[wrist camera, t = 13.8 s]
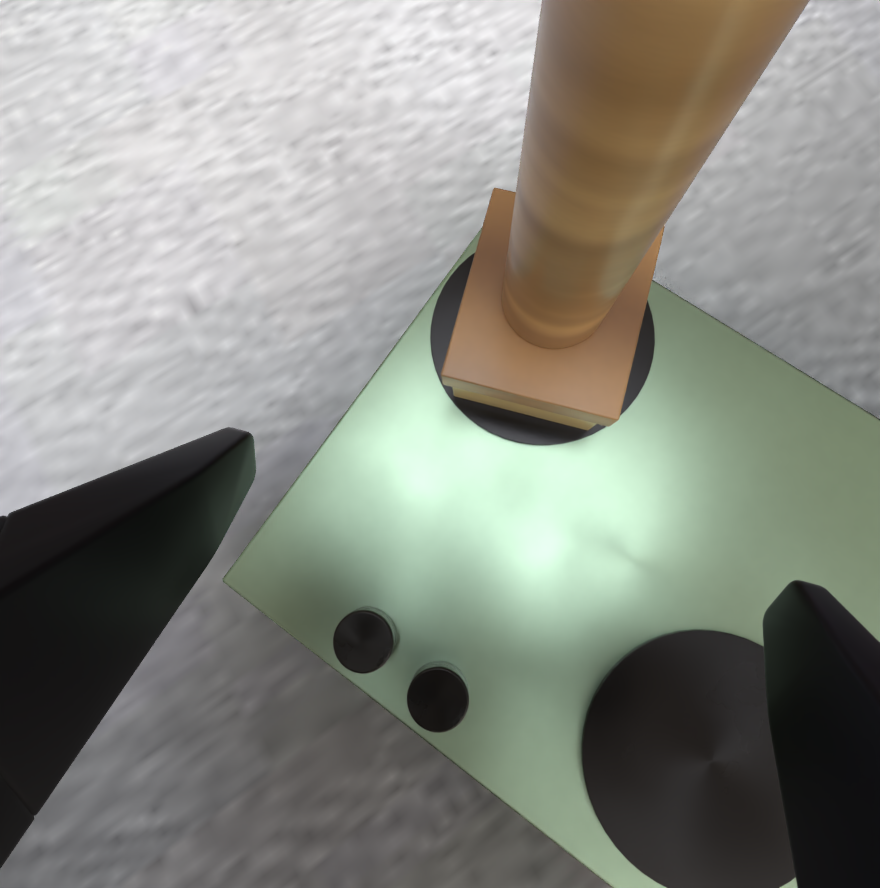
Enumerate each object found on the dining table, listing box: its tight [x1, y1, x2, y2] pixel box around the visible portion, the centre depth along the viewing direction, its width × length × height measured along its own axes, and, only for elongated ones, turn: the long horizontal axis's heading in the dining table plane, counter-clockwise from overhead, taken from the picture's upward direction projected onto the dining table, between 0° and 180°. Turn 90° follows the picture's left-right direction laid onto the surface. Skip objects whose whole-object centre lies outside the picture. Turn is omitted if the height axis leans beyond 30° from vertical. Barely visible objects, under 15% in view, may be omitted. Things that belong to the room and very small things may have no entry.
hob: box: [222, 228, 880, 888], centre depth 17 cm, size 16×20×3 cm
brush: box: [441, 0, 810, 430], centre depth 11 cm, size 6×5×14 cm
